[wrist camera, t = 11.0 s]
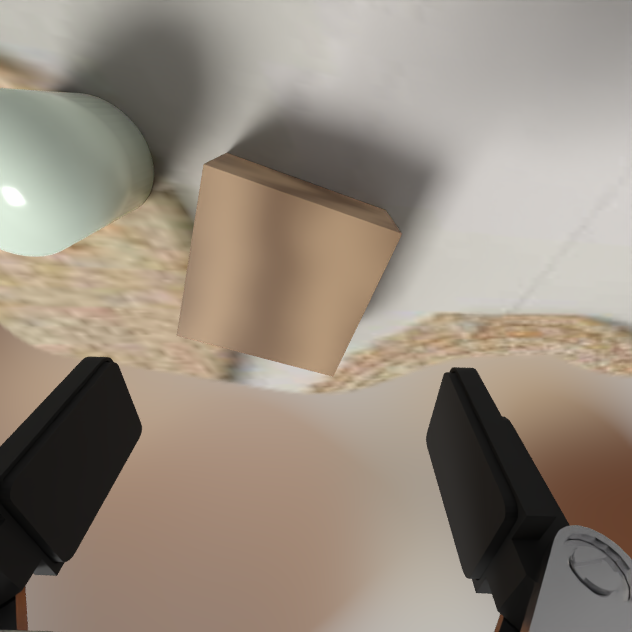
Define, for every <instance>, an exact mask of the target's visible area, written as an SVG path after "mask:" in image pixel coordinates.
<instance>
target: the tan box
mask: <svg viewBox="0 0 632 632" xmlns="http://www.w3.org/2000/svg"><path fill="white" fill-rule="evenodd" d="M401 235H402V233H401V231H400V230H399V229H398V227H397V226H396V224H395V223H394V221H393V220H392V219H391V217H390V216H389V214H388V213H387V211H386V210H384V209H381V208H379V207H376V206H373V205H370V204H367V203H365V202H362V201H359V200H356V199H354V198H351V197H348V196H345V195H342V194H340V193H337V192H334V191H331V190H329V189H326V188H323V187H320V186H317V185H315V184H312V183H309V182H306V181H304V180H301V179H298V178H295V177H292V176H290V175H287V174H284V173H281V172H279V171H276V170H273V169H270V168H267V167H265V166H262V165H259V164H256V163H254V162H251V161H248V160H245V159H243V158H240V157H237V156H234V155H231V154H229V153H225V154H223V155H221V156H219V157H217V158H215V159H213V160H211V161H209V162H207V163H205V164H204V165H203V171H202V178H201V184H200V190H199V197H198V203H197V210H196V216H195V222H194V229H193V235H192V242H191V248H190V254H189V261H188V267H187V274H186V280H185V286H184V293H183V299H182V305H181V312H180V318H179V325H178V331H177V336H180V337H184V338H188V339H192V340H195V341H199V342H203V343H207V344H211V345H215V346H218V347H222V348H226V349H230V350H234V351H237V352H241V353H245V354H249V355H253V356H257V357H260V358H264V359H268V360H272V361H276V362H280V363H283V364H287V365H291V366H295V367H299V368H303V369H306V370H310V371H314V372H318V373H322V374H325V375H329V376H334V374H335V372H336V370H337V367H338V365H339V363H340V361H341V359H342V357H343V355H344V353H345V351H346V349H347V347H348V345H349V343H350V341H351V338H352V336H353V334H354V332H355V330H356V328H357V326H358V324H359V322H360V320H361V318H362V316H363V314H364V312H365V310H366V307H367V305H368V303H369V301H370V299H371V297H372V295H373V293H374V291H375V289H376V287H377V285H378V283H379V281H380V279H381V276H382V274H383V272H384V270H385V268H386V266H387V264H388V262H389V260H390V258H391V256H392V254H393V252H394V250H395V248H396V245H397V243H398V241H399V239H400V237H401Z"/></svg>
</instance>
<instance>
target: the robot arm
mask: <svg viewBox="0 0 632 632" xmlns="http://www.w3.org/2000/svg"><path fill="white" fill-rule="evenodd" d="M141 432H142V425H141V422H140V419H139V417H138V414H137V412H136V409H135V407H134V404H133V401H132V399H131V396H130V394H129V391H128V389H127V386H126V384H125V381H124V378H123V376H122V373H121V371H120V368H119V366H118V364H117V363H114V362H113V360H112V359H111V358H109V357H86V358H84V359H83V360H82V361H81V362H80V363H79V364H78V365H77V366H76V367H75V369H73V370H72V371H71V372H70V374H69V375H68V376H67V377H66V378H65V379H64V380H63V381H62V382H61V383H60V384H59V385H58V386H57V387H56V388H55V389H54V391H53V392H52V393H51V394H50V395H49V396H48V397H47V398H46V399H45V400H44V401H43V402H42V403H41V404H40V405H39V406H38V407H37V409H35V411H34V412H33V413H32V414H31V415H30V416H29V417H28V418H27V419H26V420H25V421H24V422H23V423H22V424H21V425H20V426H19V427H18V428H17V430H16V431H15V432H14V433H13V434H12V435H11V436H10V437H9V438H8V439H7V440H6V441H5V442H4V443H3V444H2V445H1V446H0V632H51V631H28V617H27V601H26V586H25V585H26V584H27V582H28V580H29V579H30V577H31V576H32V574H33V573H34V574H35V575H53V576H57V575H58V573H59V571H60V569H61V567H62V566H63V564H64V562H67V561H68V560H70V559H71V558H72V557H73V555H74V554H75V552H76V550H77V549H78V547H79V545H80V543H81V541H82V540H83V538H84V536H85V534H86V532H87V531H88V529H89V527H90V525H91V524H92V522H93V520H94V518H95V516H96V514H97V513H98V511H99V509H100V507H101V506H102V504H103V502H104V500H105V498H106V497H107V495H108V493H109V491H110V489H111V488H112V486H113V484H114V482H115V481H116V479H117V477H118V475H119V473H120V471H121V470H122V468H123V466H124V464H125V463H126V461H127V459H128V457H129V456H130V453H131V452H132V450H133V448H134V446H135V445H136V443H137V441H138V439H139V437H140V435H141ZM426 442H427V448H428V451H429V454H430V458H431V462H432V465H433V469H434V472H435V476H436V479H437V482H438V486H439V490H440V493H441V496H442V500H443V504H444V507H445V510H446V514H447V517H448V521H449V524H450V528H451V531H452V535H453V538H454V542H455V545H456V549H457V552H458V555H459V559H460V563H461V566H462V569H463V572H464V574H465V576H466V577H467V578H469V579H472V581H473V584H474V588H475V591H476V593H488V594H492V595H493V598H494V601H495V604H496V607H497V610H498V612H500V616H499V619H498V622H497V625H496V627H495V631H494V632H632V560H631V558H630V557H629V556H628V555H627V554H626V553H625V552H624V551H623V550H622V549H621V548H620V547H619V546H618V545H617V544H615V543H614V542H613V541H611V540H610V539H608V538H607V537H606V536H604V535H602V534H600V533H598V532H596V531H594V530H592V529H590V528H586V527H582V526H578V525H576V526H570V525H569V523H568V522H567V520H566V518H565V516H564V515H563V513H562V511H561V509H560V508H559V506H558V504H557V502H556V501H555V499H554V497H553V495H552V494H551V492H550V490H549V488H548V486H547V485H546V483H545V481H544V480H543V478H542V476H541V474H540V472H539V471H538V469H537V467H536V465H535V464H534V462H533V460H532V458H531V457H530V455H529V453H528V451H527V450H526V448H525V446H524V444H523V443H522V441H521V439H520V437H519V436H518V434H517V432H516V430H515V428H514V427H513V425H512V424H511V422H510V421H509V420H508V419H507V418H506V417H502V416H501V414H500V412H499V411H498V409H497V407H496V405H495V403H494V401H493V400H492V398H491V396H490V394H489V392H488V390H487V389H486V387H485V385H484V383H483V382H482V380H481V378H480V376H479V374H478V372H477V371H476V369H474V368H455V367H454V368H452V369H451V370H450V372H447V373H444V376H443V379H442V382H441V386H440V389H439V393H438V396H437V400H436V403H435V407H434V410H433V414H432V417H431V421H430V424H429V428H428V432H427V436H426Z"/></svg>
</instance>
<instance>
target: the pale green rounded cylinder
mask: <svg viewBox="0 0 632 632" xmlns="http://www.w3.org/2000/svg"><path fill="white" fill-rule="evenodd" d="M153 179H154V167H153V161H152V157H151V153H150V150H149V148H148V145H147V143H146V141H145V139H144V137H143V136H142V134H141V133H140V131H139V129H138V128H137V127H136V126H135V124H134V123H133V122H132V121H131V120H130V119H129V118H128V117H127V116H126V115H125V114H124V113H123V112H122V111H121V110H119V109H118V108H117V107H115V106H114V105H112V104H111V103H109V102H107V101H105V100H103V99H101V98H98V97H96V96H92V95H88V94H82V93H68V92H53V91H37V90H22V89H7V88H0V249H1V250H4V251H7V252H10V253H13V254H18V255H23V256H47V255H52V254H55V253H58V252H60V251H62V250H64V249H66V248H68V247H69V246H71V245H73V244H75V243H76V242H78V241H80V240H82V239H84V238H85V237H87V236H89V235H91V234H93V233H94V232H96V231H98V230H100V229H101V228H103V227H105V226H107V225H109V224H110V223H112V222H114V221H116V220H117V219H119V218H121V217H123V216H125V215H126V214H128V213H130V212H132V211H134V210H135V209H137V208H138V207H140V206H141V205H142V204H143V203H144V202H145V201H146V199H147V198H148V196H149V194H150V192H151V189H152V185H153Z"/></svg>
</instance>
